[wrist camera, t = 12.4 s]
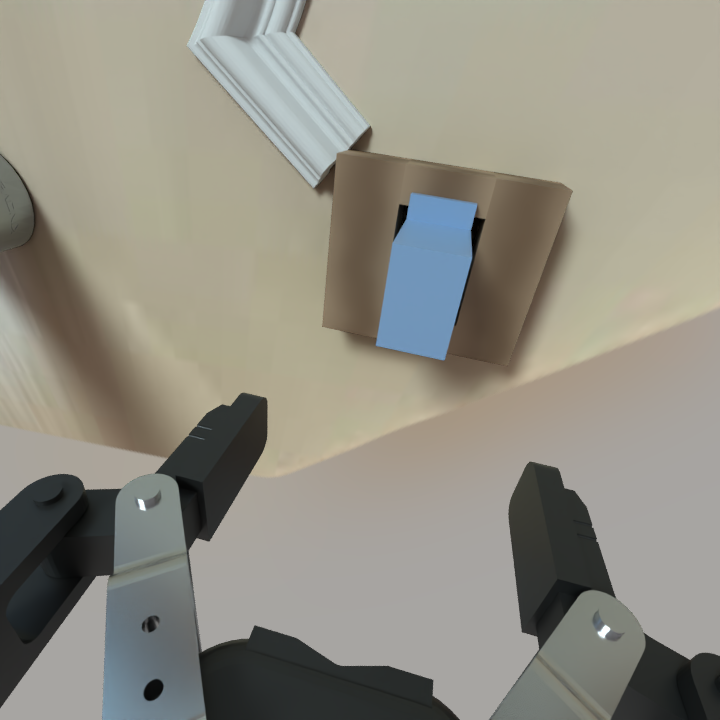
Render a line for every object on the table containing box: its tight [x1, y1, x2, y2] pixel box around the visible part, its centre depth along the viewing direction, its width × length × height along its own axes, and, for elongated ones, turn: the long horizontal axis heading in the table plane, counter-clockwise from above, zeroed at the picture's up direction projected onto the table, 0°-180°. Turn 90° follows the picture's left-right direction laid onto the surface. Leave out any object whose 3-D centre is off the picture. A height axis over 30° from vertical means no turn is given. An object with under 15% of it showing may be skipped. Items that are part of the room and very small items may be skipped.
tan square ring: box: [322, 149, 573, 366], centre depth 29 cm, size 14×12×4 cm
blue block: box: [376, 192, 477, 360], centre depth 26 cm, size 4×9×10 cm, turn 173°
